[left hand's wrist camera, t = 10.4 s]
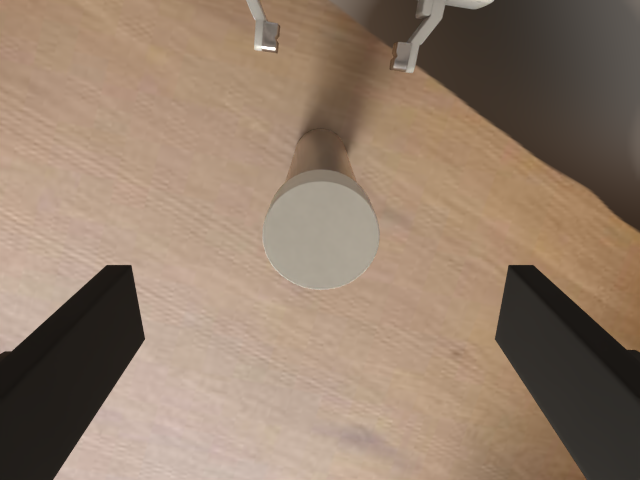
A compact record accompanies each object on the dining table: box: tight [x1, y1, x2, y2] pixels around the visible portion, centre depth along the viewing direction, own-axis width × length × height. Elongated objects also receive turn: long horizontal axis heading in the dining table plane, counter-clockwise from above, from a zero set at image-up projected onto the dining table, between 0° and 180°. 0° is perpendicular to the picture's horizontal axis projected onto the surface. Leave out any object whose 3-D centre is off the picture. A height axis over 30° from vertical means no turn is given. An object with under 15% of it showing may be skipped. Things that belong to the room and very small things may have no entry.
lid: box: [262, 170, 380, 290], centre depth 20 cm, size 5×5×2 cm
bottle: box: [285, 129, 357, 183], centre depth 28 cm, size 4×4×20 cm
